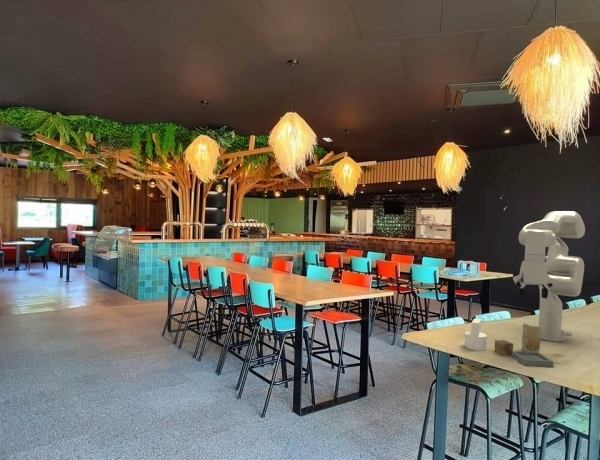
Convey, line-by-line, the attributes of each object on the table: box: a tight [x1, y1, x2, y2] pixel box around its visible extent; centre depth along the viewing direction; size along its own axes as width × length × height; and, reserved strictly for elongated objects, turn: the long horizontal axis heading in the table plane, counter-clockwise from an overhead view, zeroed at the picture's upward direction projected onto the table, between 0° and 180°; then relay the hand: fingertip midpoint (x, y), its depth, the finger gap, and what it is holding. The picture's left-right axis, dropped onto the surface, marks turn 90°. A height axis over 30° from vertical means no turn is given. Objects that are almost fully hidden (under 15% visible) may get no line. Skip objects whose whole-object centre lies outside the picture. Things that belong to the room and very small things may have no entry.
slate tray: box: [510, 350, 554, 368], centre depth 162 cm, size 11×11×2 cm
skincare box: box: [521, 322, 541, 353], centre depth 174 cm, size 6×4×12 cm
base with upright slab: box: [464, 318, 488, 351], centre depth 179 cm, size 9×9×12 cm
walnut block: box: [493, 339, 514, 357], centre depth 171 cm, size 5×5×5 cm
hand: (532, 297), depth 173 cm, fingers open, 9 cm apart
